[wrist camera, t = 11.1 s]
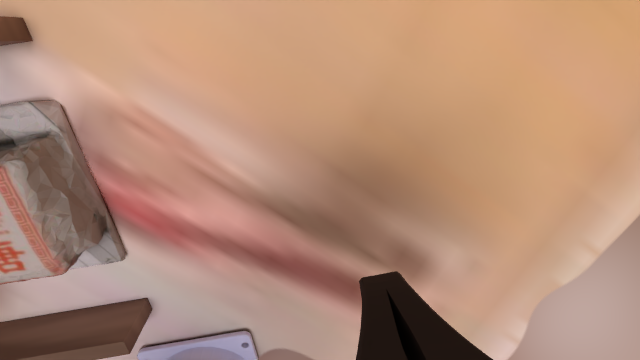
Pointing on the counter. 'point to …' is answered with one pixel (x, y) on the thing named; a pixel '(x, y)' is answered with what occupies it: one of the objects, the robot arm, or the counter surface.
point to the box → (78, 325)
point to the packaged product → (48, 198)
